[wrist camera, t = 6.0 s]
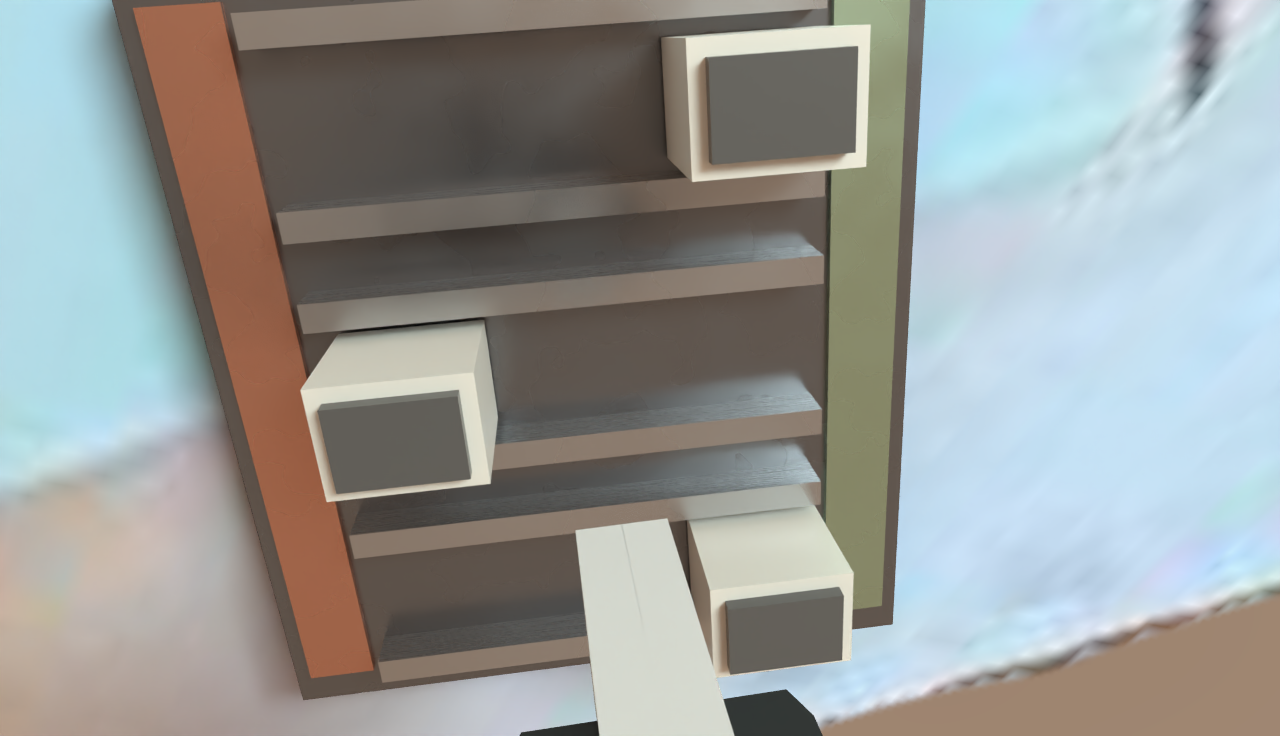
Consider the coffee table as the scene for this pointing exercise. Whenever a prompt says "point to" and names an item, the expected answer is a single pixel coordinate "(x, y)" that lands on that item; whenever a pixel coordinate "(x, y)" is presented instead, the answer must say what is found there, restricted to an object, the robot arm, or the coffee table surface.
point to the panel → (528, 299)
